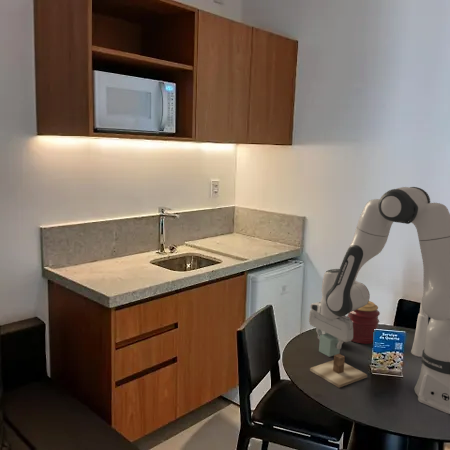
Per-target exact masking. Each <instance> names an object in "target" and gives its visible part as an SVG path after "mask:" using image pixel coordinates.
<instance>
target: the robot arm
mask: <svg viewBox="0 0 450 450" xmlns="http://www.w3.org/2000/svg"><path fill="white" fill-rule="evenodd" d="M394 223H400V224H406V225H409V224H413V225H414V226H415V229H416V233H417V237H418V244H419V247H420V253H421V259H422V265H423V266H422V267H423V269H422V270H423V281H422V283H423V290H422V291H423V293H422V298H421V302H420V305H422V309H423V311H424V312H425V314H426V315H427V316H428V318H430V319H429V321H428V326H427V329H426V338H425V347H424V350H423V353H422V357H421V360H420V361H421V368H420V373H419V376H418V379H417V382H416V384H415V386H414V388H413V389H414V393H415V394H416V395H417V401H418V402H420V403H421V404H424V405H426V406H429V407H431V408H433V409H435V410H439V411H441V412H444V413H446V414H448V415H450V211H449V209H448V207H447V206H446V205H444V204H443V203H440V202H439V203H438V202H431V198H430V195H429V194H428V192H427V191H426V190H425V189H422V188H421V187H417V186H410V187H409V186H402V187H397V188H393V189H390V190H387V191H385V193H383V195H381V197H380V198H374V199H371V200H369V201H367V202H366V204H365V206H364V207H363V209H362V212H361V214H360V216H359V219H358V221H357V225H356V229H355V232H354V235H353V237H352V240H351V242H350V245H349V247H348V248H347V250H346V253H345V255H344V256H343V259H342V261H341V264H340V266H339V268H333V269H332V268H331V269H328V270H326V271H325V272H324V274H323V277H322V284H321V295H322V296H321V299H320V301H317V302H313V303H310V307H309V308H310V310H309V315H308V316H309V317H308V322H309V323H308V324H310V326H312V327H315V331H316V333H317V339H318V340H319V341H320V335H322V331H324V332H326V333H328V334H330V335H332V336H334V337H336V338H338V341H339V342H338V343H336V345H335V348H337V349H340V350H341V349H342V345H343V343H344V342H345V343H347V342H352V341H351V340H352V339H353V322H352V320H351V319H350V318H349V317H347V316H348V313H350V312H352V311H354V310H357V309H359V308H361V307H363V306H365V305H366V304H367V303H368V302H369V301H370V295H371V294H370V291H369V289H368V287H367V286H366V285H365V284H364V283H362V282H359V281H358V280H357V276H358V275H359V273H360V270H361V269H362V267H363V266H364V265H366V263H368V262H369V261H370V260H371V259H374V258H375V257H376V256H378V255H379V254H381V252H382V251H383V250H384V248H385V246H386V244H387V242H388V238H389V236H390V235H389V234H390V231H391V229H392V227H393V226H392V225H393V224H394ZM321 330H322V331H321Z"/></svg>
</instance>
